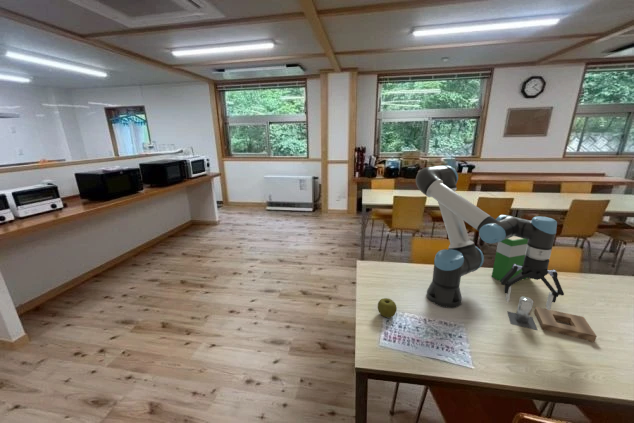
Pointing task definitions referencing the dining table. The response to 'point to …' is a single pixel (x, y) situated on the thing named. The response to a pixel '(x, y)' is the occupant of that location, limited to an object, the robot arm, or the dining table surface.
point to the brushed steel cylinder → (524, 310)
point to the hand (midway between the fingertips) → (526, 304)
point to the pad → (513, 321)
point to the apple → (387, 307)
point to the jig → (575, 328)
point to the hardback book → (509, 256)
